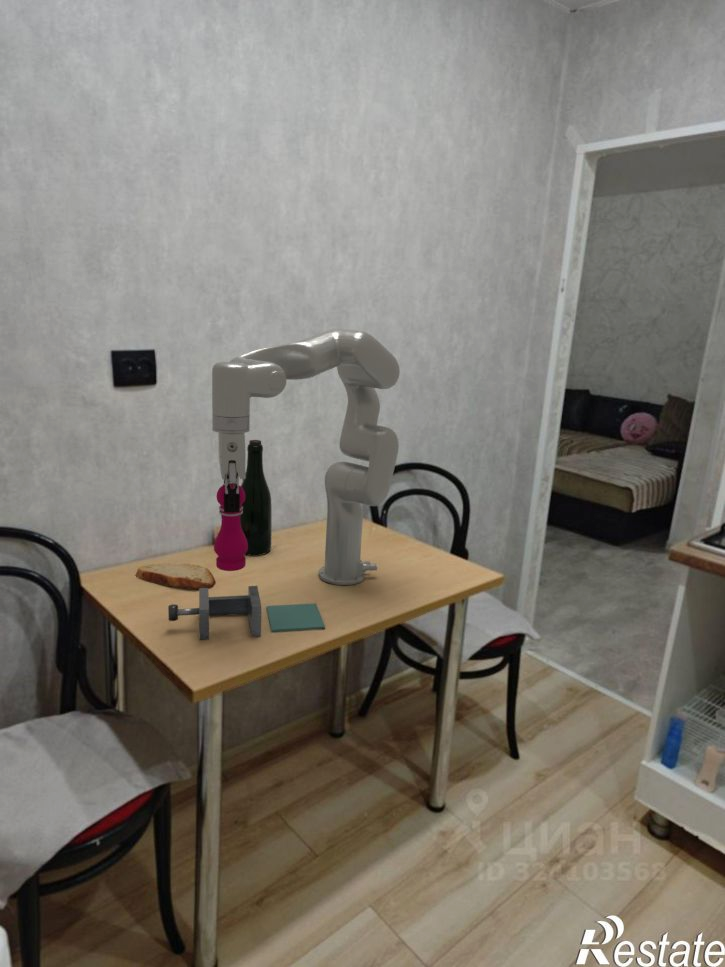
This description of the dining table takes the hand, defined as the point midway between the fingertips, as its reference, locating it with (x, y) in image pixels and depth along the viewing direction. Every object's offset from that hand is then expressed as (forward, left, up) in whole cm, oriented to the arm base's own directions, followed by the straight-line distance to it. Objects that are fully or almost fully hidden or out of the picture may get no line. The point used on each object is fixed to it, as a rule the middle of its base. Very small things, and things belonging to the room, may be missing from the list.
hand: (231, 506), depth 137 cm
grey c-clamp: (+3, -1, -28) cm, 28 cm away
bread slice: (+13, -27, -29) cm, 42 cm away
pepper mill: (0, 0, -14) cm, 14 cm away
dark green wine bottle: (-9, -47, -28) cm, 55 cm away
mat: (-15, -2, -28) cm, 32 cm away
